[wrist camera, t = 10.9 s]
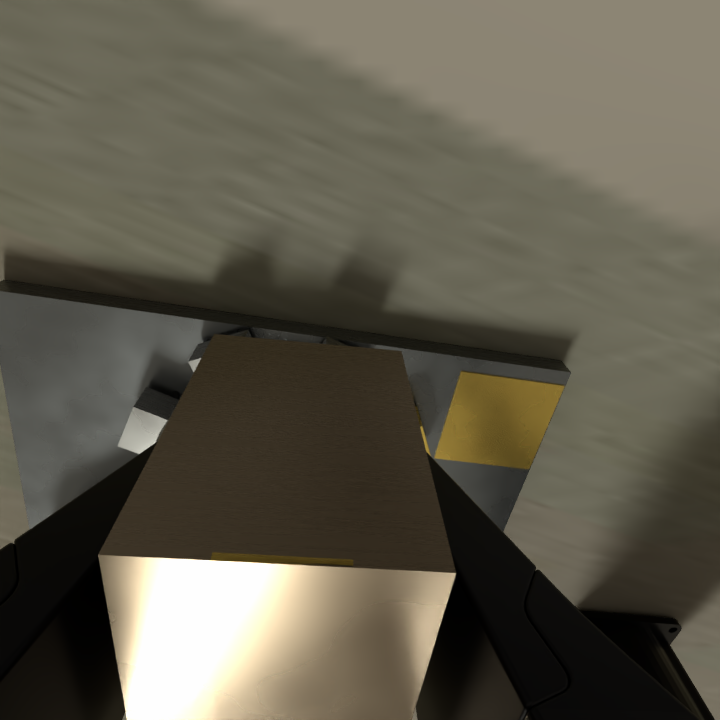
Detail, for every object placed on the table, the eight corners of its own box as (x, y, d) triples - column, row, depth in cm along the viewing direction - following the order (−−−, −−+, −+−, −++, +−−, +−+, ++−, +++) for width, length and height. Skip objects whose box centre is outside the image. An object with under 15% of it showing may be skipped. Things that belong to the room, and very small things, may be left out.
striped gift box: (401, 351, 9) (456, 572, 5) (376, 490, 11) (401, 752, 7) (213, 333, 9) (98, 555, 5) (216, 480, 11) (131, 747, 6)
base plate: (561, 360, 21) (571, 373, 20) (480, 557, 26) (485, 574, 26) (3, 279, 18) (-14, 289, 17) (41, 516, 24) (29, 533, 23)
